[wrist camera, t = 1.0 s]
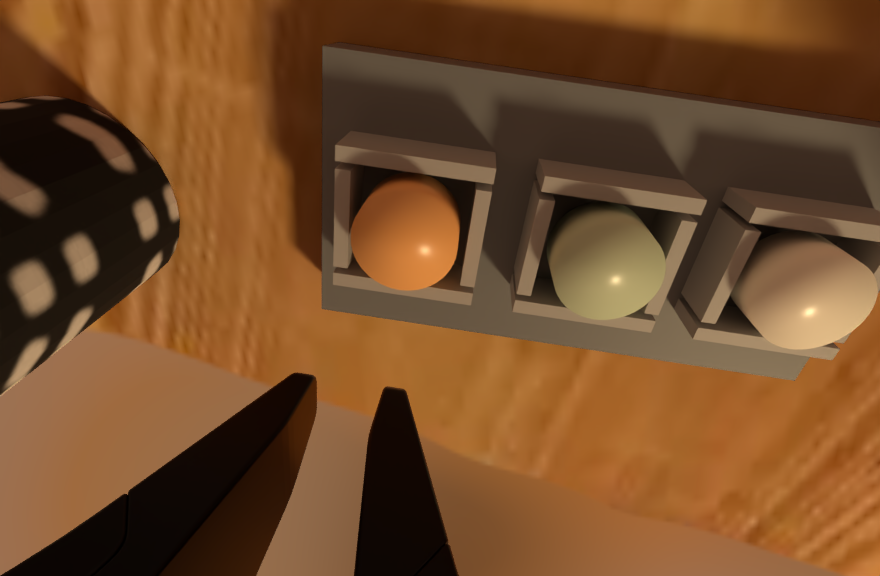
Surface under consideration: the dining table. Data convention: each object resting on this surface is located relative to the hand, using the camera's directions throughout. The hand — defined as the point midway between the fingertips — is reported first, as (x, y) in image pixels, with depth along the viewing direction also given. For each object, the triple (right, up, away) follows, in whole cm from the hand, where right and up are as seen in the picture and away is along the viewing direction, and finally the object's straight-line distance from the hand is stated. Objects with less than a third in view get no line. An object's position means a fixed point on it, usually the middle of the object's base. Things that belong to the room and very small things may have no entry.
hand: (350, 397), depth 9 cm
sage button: (+7, +4, +8) cm, 11 cm away
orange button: (+1, +4, +8) cm, 9 cm away
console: (+7, +5, +10) cm, 14 cm away
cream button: (+14, +3, +8) cm, 16 cm away
